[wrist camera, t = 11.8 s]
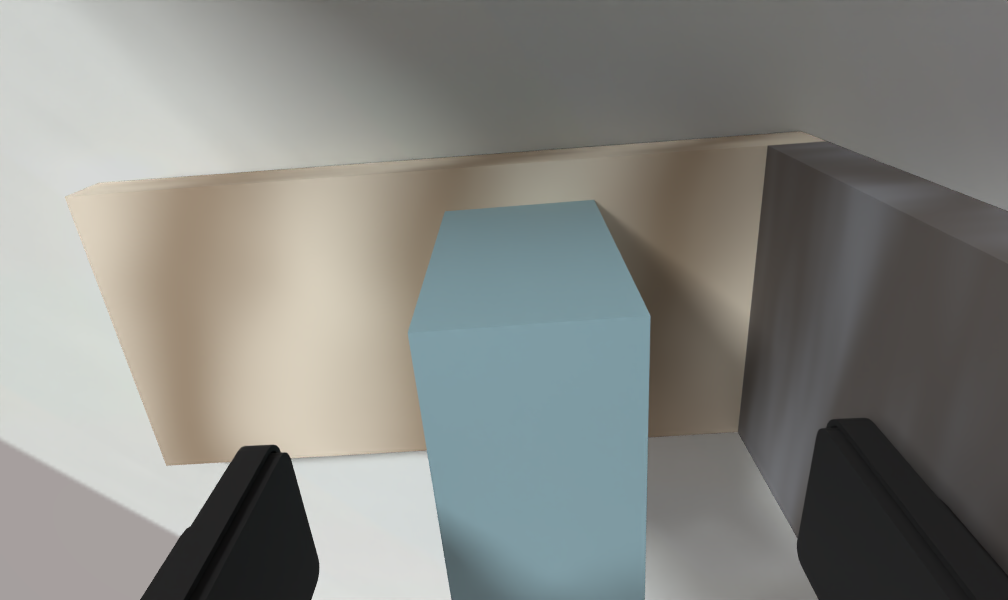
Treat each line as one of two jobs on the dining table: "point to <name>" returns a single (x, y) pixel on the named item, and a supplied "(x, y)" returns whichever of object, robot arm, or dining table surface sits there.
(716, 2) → the dining table surface
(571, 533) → the pale blue upright box
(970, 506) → the wooden bookend
